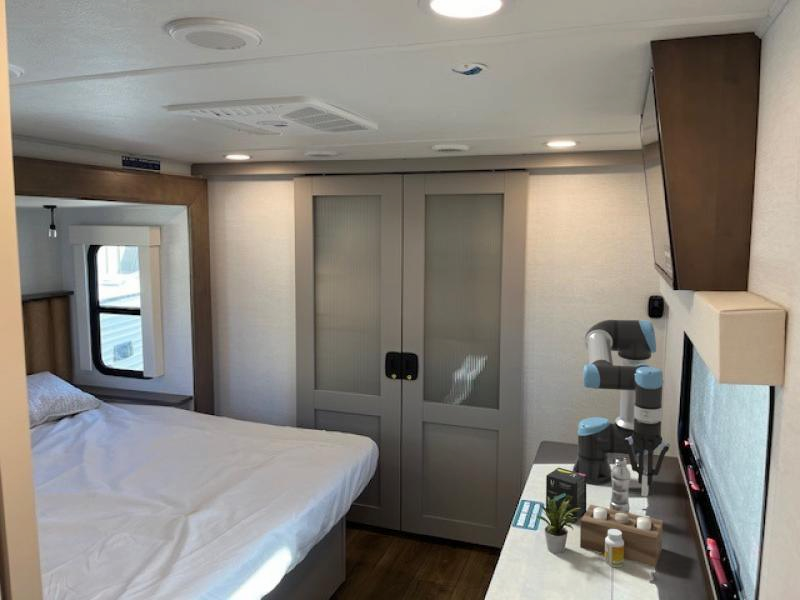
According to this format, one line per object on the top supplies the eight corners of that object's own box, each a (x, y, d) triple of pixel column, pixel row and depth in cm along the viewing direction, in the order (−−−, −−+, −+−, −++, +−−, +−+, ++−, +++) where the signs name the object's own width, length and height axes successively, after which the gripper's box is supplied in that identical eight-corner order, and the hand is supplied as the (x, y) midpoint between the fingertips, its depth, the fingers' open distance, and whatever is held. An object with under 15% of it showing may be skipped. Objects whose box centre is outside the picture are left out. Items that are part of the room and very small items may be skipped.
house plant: (573, 569, 178) (574, 516, 176) (527, 557, 185) (528, 506, 183) (584, 546, 191) (585, 496, 189) (541, 535, 198) (541, 488, 195)
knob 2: (637, 546, 189) (638, 515, 188) (651, 549, 187) (652, 518, 185) (634, 552, 185) (635, 521, 184) (649, 556, 183) (650, 524, 182)
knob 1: (594, 535, 196) (595, 506, 194) (607, 538, 193) (608, 509, 192) (591, 541, 192) (592, 511, 191) (604, 544, 190) (605, 514, 189)
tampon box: (586, 514, 211) (587, 474, 209) (574, 524, 204) (575, 483, 202) (557, 505, 218) (558, 466, 217) (545, 514, 212) (545, 474, 210)
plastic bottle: (606, 514, 211) (607, 459, 208) (615, 508, 215) (616, 454, 213) (624, 521, 206) (625, 464, 203) (632, 514, 211) (634, 458, 208)
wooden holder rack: (590, 530, 200) (590, 500, 199) (661, 548, 189) (663, 516, 187) (580, 547, 190) (580, 515, 189) (655, 567, 179) (656, 533, 177)
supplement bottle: (626, 562, 181) (627, 531, 180) (618, 569, 178) (619, 538, 176) (609, 555, 185) (610, 525, 184) (601, 562, 182) (601, 532, 180)
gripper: (622, 419, 181) (619, 494, 184) (669, 427, 174) (666, 504, 177) (627, 412, 187) (624, 485, 191) (673, 419, 180) (669, 494, 184)
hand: (644, 494), depth 184 cm, fingers closed
